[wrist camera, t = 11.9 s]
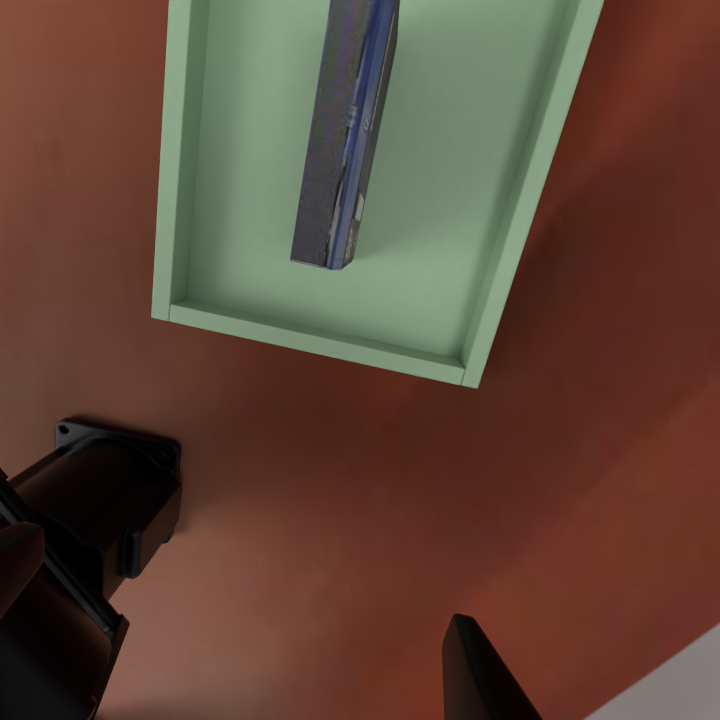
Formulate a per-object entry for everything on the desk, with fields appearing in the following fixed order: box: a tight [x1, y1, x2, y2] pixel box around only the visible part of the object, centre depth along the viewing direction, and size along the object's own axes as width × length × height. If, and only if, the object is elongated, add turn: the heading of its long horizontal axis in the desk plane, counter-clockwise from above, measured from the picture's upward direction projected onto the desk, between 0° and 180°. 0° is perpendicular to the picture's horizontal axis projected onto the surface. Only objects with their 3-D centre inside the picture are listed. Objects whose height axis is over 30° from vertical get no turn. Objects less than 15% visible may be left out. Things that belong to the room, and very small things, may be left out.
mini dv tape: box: [290, 0, 400, 270], centre depth 14 cm, size 8×2×6 cm, turn 168°
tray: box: [151, 0, 604, 388], centre depth 16 cm, size 15×17×2 cm
